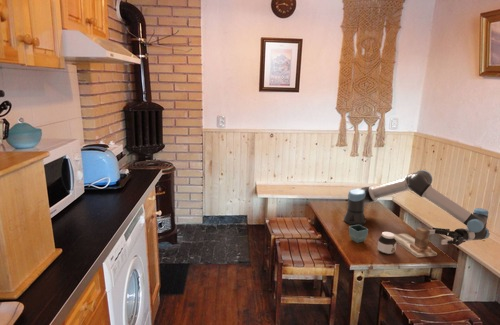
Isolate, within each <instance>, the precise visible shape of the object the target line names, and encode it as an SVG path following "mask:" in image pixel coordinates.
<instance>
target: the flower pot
mask: <svg viewBox="0 0 500 325" xmlns="http://www.w3.org/2000/svg"><path fill="white" fill-rule="evenodd" d="M348 233H349V237H350V239H351V240H352V241H353V242H355V243H356V244H359V243H363V242H364V241H365V240H366V239H367V237H368V233H369V229H368V228H367V227H365V226H363V225H350V226H348Z"/></svg>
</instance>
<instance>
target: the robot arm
mask: <svg viewBox="0 0 500 325" xmlns="http://www.w3.org/2000/svg"><path fill="white" fill-rule="evenodd" d="M432 183H433V176H432V175H431V173H430V172H429V171H427V170H424V169H423V170H422V169H420V170H417V171H416V172H413V173H410V174H406V175H405V177H404V178H400V179H397V180H394V181H390V182H387V183H384V184H380V185H377V186H373V185H369V186H363V187H361V188H354V189H350V190H349V191H348V194H347V207H346V208H347V209H346V212H345V214H344V216H343V221H344V223H346V224H348V225H350V226H354V225H361V226H363V225H365V224H366V217H365V216H366V215H365V206H366V205H367V204H369V203H370V204H371V203H373V202H377V201H378V199H380V198H384V197H388V196H391V195H396V194H399V193H403V192H406V191H410V192H412V193H415V194H416V195H417V196H419V197H421V198H425V200H428V201H430V203H432V204H434V205H435V206H437V207H438V208H440V209H441V210H442V211H444V212H446V213H448V214H449V215H450V216H451V217H453V218H455V219H456V220H458V221H459V222H461V223H462V224H464V225H465V226H466V227H462V228H456V229H454V230H451V229H450V228H439V227H432V229H429V230H430V233H429V235H435V234H438V235H443V236H446V237H449V238H445V239H441V242H440V244H441V245H455V246H457V247H458V246H460V245H461V244H463V243H466V242H468V241H482V240H487V239H488V238H489V237H490V231H489V229H488V227H487V223H488V220H489V219H488V218H489V211H488V209H485V208H482V207H481V208H480V207H475V208H474V209H473V212H470V211H469V210H467V209H466V208H464V207H463V206H461V205H460V204H458V202H455V201H454V200H452V199H450V198H449V197H447V196H445V195H444V194H443V193H441V192H440V191H438V190H437V189H435V188H434V187H433V185H432Z"/></svg>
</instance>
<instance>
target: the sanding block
mask: <svg viewBox="0 0 500 325" xmlns="http://www.w3.org/2000/svg"><path fill="white" fill-rule="evenodd" d="M415 230H416V231H415V237H414V239H415V244H410V248H412V249H413V250H414V251H416V252H417V253H421V252H431V250H433V249H432V247H430V246H429V239H430V234H429V233H430V230H431V229H428V228H426V227H425V226H422V227H416V228H415Z"/></svg>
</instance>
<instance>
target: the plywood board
mask: <svg viewBox="0 0 500 325" xmlns="http://www.w3.org/2000/svg"><path fill="white" fill-rule="evenodd" d="M393 234H394V238H395V239H396V242H397V245H398V246H400V247H402V248H403V249H405V250H406V251H408V252H409V253H410V254H411V255H413V256H415V257H416V258H425V257H427V258H428V257H437V256H438V253H437V252H436V251H434V250H433V249H431V252H421V253H417V252H416V251H414V250H413V249H412V248H410V244H415V237H413V236H411V235H410V234H408V233H397V234H396V233H393Z"/></svg>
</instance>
